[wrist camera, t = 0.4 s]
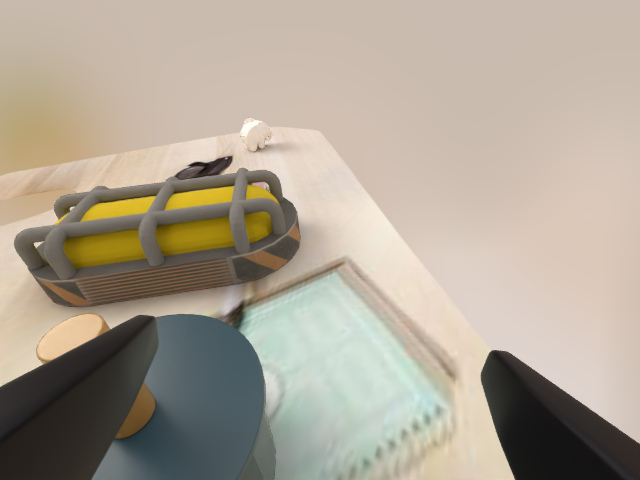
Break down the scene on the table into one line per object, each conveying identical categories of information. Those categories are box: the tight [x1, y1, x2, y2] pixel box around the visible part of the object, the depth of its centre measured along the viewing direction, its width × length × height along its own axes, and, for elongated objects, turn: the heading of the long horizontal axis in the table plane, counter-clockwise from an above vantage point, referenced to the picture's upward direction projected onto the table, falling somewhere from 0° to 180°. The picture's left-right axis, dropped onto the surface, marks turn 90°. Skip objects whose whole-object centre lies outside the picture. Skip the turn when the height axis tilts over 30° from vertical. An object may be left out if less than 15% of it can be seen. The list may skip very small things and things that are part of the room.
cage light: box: [14, 168, 300, 307], centre depth 39 cm, size 15×8×30 cm
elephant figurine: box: [238, 118, 273, 151], centre depth 71 cm, size 7×8×6 cm
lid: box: [36, 314, 266, 480], centre depth 15 cm, size 13×13×7 cm
